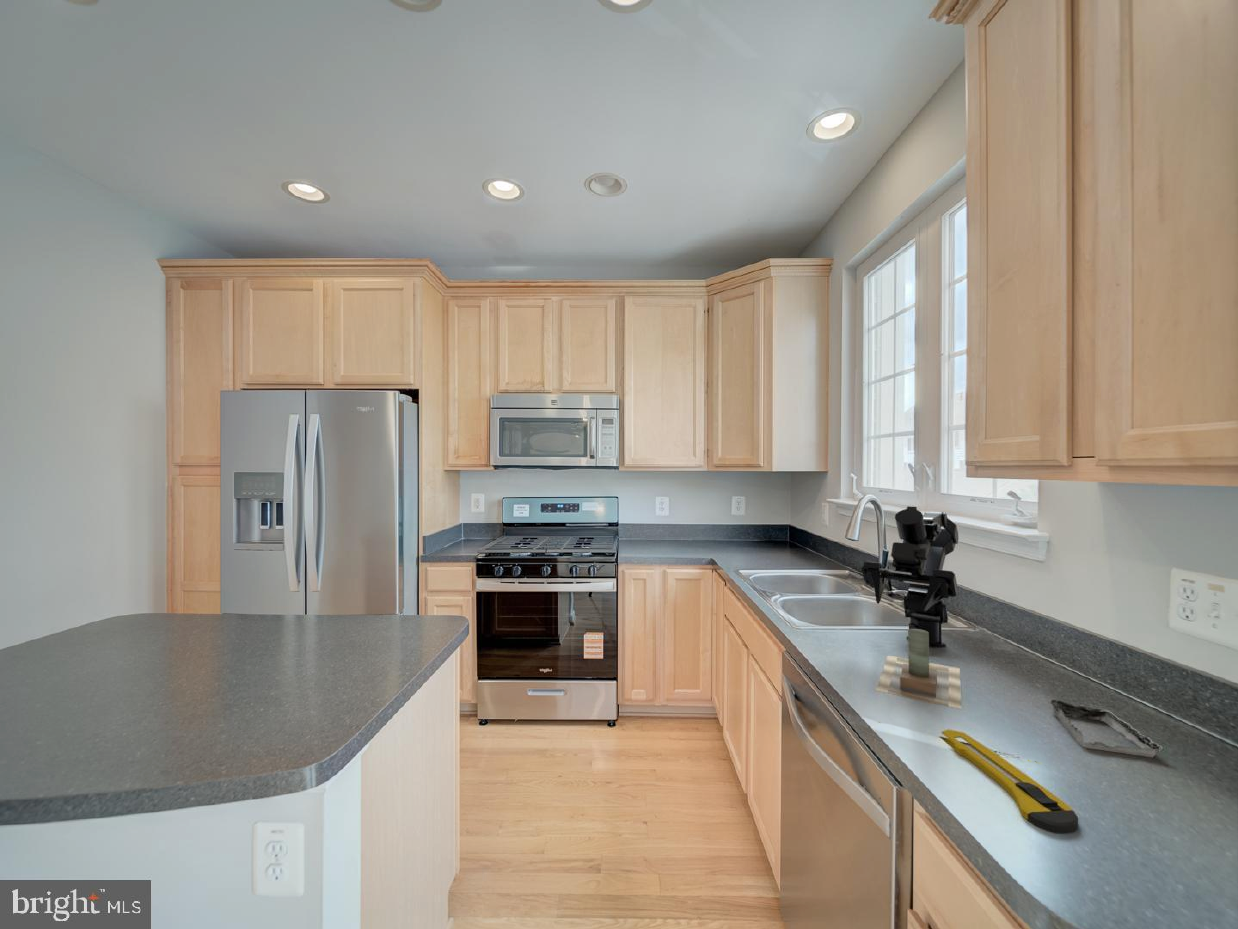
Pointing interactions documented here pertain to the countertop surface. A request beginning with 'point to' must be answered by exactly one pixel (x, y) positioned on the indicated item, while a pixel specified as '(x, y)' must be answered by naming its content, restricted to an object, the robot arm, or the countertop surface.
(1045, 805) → the utility knife
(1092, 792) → the countertop surface
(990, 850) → the countertop surface
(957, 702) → the wooden frame
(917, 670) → the grey-green cylinder
